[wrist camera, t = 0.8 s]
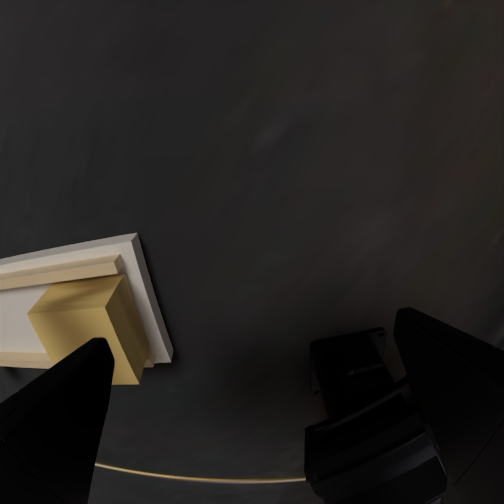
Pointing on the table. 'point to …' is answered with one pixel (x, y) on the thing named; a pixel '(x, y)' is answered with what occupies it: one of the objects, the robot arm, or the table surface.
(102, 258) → the track
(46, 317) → the block
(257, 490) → the table surface
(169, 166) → the table surface
